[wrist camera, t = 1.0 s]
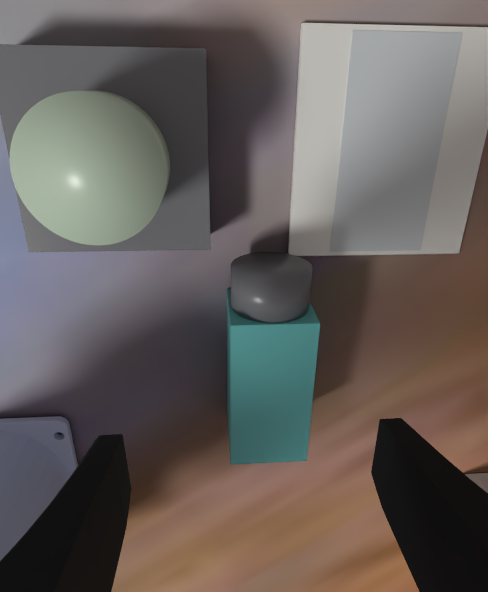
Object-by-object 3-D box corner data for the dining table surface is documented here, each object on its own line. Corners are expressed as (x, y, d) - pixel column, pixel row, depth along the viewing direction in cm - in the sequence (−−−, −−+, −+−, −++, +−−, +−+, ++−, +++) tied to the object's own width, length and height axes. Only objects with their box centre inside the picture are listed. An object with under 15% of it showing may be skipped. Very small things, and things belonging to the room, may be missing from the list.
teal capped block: (293, 410, 24) (306, 460, 21) (227, 413, 24) (230, 464, 20) (305, 250, 20) (324, 282, 17) (226, 251, 20) (230, 284, 17)
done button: (176, 216, 17) (169, 244, 14) (59, 217, 17) (26, 246, 14) (169, 91, 15) (160, 91, 12) (37, 89, 15) (-7, 89, 12)
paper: (456, 252, 21) (459, 253, 20) (287, 254, 20) (288, 256, 20) (508, 28, 17) (512, 27, 17) (301, 23, 16) (302, 23, 16)
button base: (210, 234, 19) (210, 249, 17) (46, 236, 19) (29, 252, 17) (206, 52, 16) (206, 48, 14) (11, 49, 16) (-15, 43, 14)
